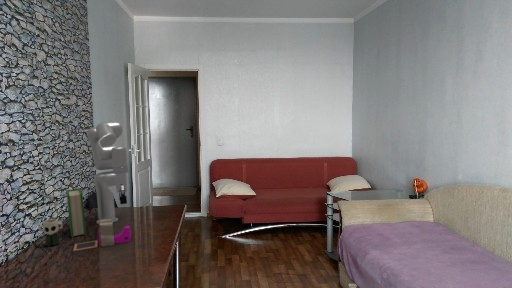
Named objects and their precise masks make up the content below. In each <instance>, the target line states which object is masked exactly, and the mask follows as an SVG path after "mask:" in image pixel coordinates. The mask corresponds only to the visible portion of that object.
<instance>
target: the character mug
mask: <svg viewBox="0 0 512 288" xmlns="http://www.w3.org/2000/svg"><path fill="white" fill-rule="evenodd" d="M59 225H60V226H59ZM63 226H64V225H63V222H59V220H58V218H49V219H46V220H44V221H42V224H41V225H39V226H38V230H39V232H43V233H44V234H45V246H48V247H50V246H56V245H58V244H59V243H60V239H59V235H58V232H59V231H60V230H61V229H63V228H64V227H63Z"/></svg>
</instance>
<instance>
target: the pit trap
mask: <svg viewBox="0 0 512 288" xmlns="http://www.w3.org/2000/svg"><path fill="white" fill-rule="evenodd" d="M98 242H99V239H98V240H97V239H96V240H92V241H86V242H81V243H75V244H74V247H73V250H72V251H73V252H76V251H83V250H88V249H95V248H98Z"/></svg>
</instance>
